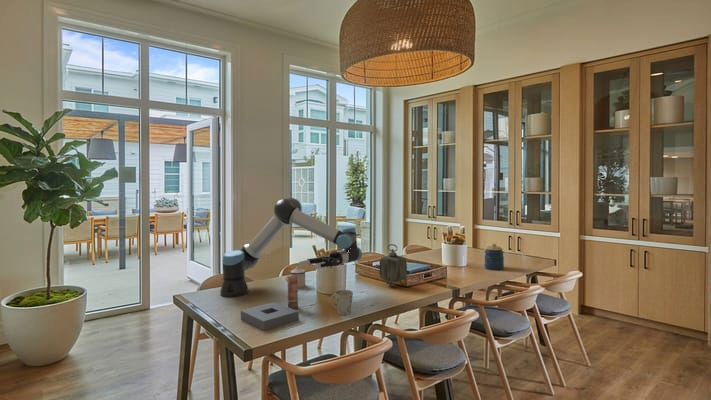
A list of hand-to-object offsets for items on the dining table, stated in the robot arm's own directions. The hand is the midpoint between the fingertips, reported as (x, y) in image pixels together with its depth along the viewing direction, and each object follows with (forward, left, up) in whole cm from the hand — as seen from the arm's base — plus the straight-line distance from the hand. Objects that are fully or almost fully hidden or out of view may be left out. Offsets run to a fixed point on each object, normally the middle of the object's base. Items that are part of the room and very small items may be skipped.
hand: (307, 265), depth 202 cm
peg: (+1, -10, -19) cm, 22 cm away
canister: (+31, +140, -20) cm, 145 cm away
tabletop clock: (+10, +55, -20) cm, 59 cm away
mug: (+23, +2, -20) cm, 31 cm away
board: (+7, -27, -19) cm, 34 cm away
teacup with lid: (-32, +15, -20) cm, 40 cm away
